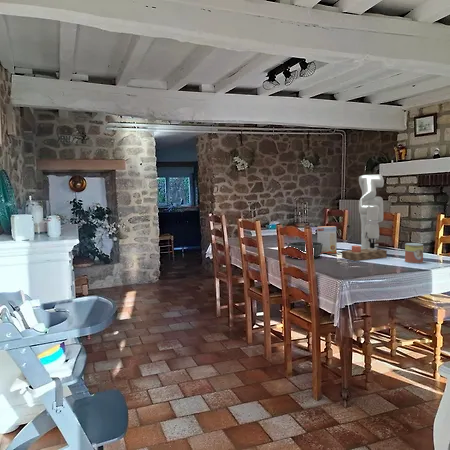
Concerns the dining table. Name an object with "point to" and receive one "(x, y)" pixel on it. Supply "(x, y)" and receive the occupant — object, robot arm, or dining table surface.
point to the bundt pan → (301, 246)
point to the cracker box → (327, 238)
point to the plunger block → (364, 254)
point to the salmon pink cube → (356, 248)
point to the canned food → (414, 253)
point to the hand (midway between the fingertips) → (372, 247)
